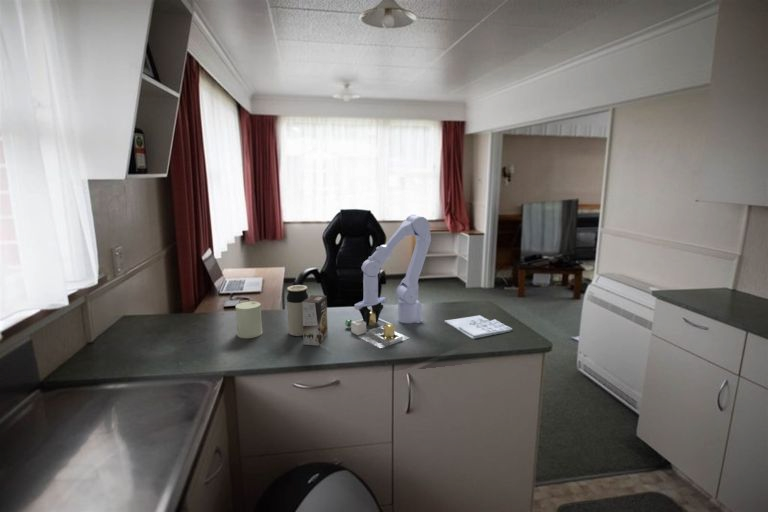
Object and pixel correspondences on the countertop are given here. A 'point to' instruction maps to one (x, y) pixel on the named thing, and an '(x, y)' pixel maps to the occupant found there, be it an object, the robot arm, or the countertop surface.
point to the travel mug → (296, 308)
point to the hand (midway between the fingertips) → (370, 323)
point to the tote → (382, 321)
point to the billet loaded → (389, 331)
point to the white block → (358, 327)
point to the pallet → (381, 337)
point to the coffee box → (314, 319)
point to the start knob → (348, 322)
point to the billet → (372, 318)
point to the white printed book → (478, 326)
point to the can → (249, 319)
